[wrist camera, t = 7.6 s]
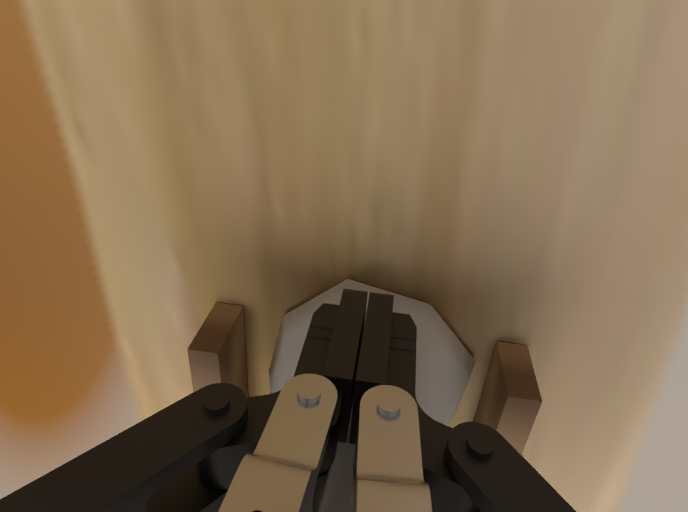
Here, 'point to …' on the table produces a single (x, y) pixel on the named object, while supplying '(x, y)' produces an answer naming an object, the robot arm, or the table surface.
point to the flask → (431, 371)
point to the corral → (493, 409)
